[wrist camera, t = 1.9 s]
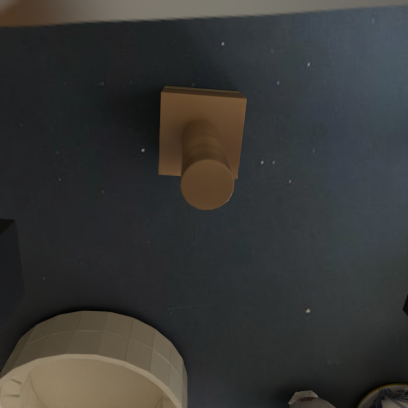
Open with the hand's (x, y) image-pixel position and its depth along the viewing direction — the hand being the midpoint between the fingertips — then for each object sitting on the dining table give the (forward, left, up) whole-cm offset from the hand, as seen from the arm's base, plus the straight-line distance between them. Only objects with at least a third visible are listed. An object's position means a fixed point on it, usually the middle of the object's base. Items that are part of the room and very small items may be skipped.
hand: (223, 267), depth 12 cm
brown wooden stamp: (0, 0, -21) cm, 21 cm away
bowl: (+28, -9, -21) cm, 36 cm away
